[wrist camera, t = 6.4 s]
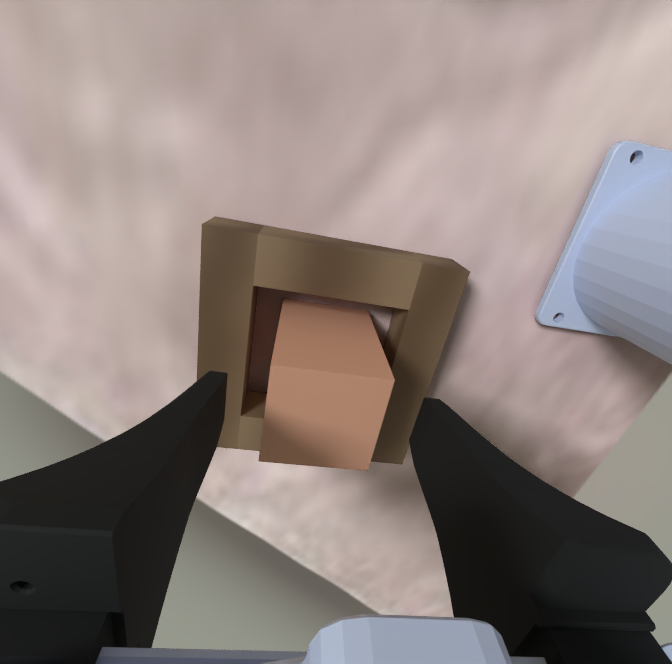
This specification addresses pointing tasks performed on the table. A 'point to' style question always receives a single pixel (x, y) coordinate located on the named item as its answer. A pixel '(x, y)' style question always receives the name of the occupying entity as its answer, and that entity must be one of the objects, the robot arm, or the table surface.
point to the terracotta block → (325, 388)
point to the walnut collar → (328, 281)
